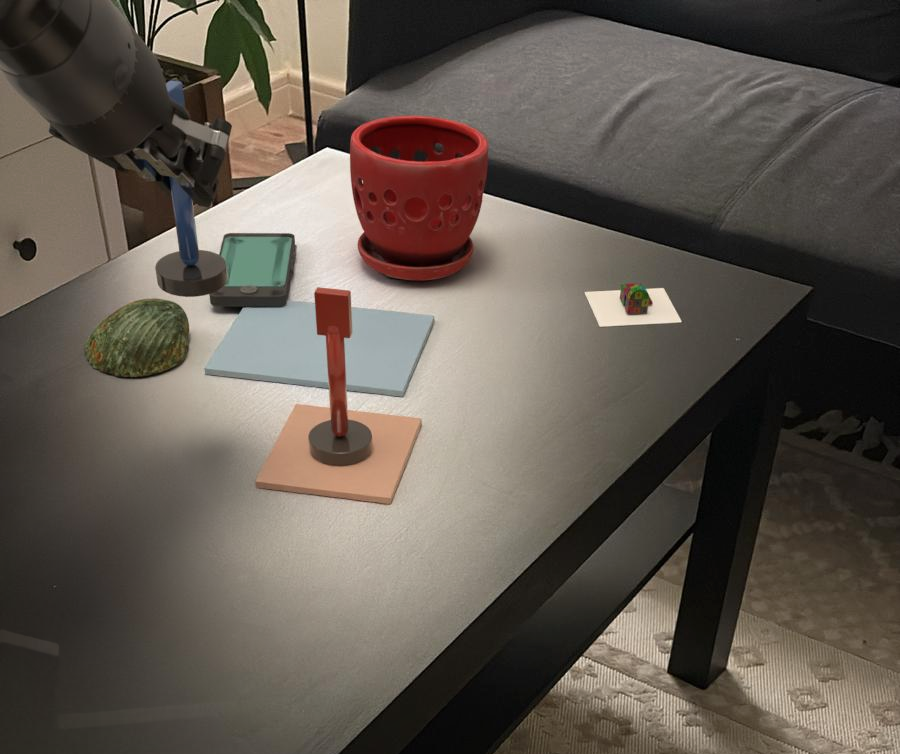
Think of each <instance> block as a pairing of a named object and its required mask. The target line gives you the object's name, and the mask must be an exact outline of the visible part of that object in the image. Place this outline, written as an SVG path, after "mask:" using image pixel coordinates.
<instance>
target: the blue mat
mask: <svg viewBox="0 0 900 754" xmlns="http://www.w3.org/2000/svg"><path fill="white" fill-rule="evenodd" d="M351 311H352V335H351V337H350V338H344V344H345V365H346V385H347V391H348V392H349V391H350V392H357V393H358V392H359V393H366V394H367V393H368V394H376V395H385V396H393V397H400V398H401V397H404V395H405V392H406V390H407V388H408V386H409V383H410V381H411V378H412V376H413V373H414V371H415V368H416V366H417V364H418V361H419V359H420V356H421V354H422V352H423V349H424V347H425V345H426V343H427V340H428V337H429V335H430V333H431V331H432V328H433V326H434V323H435V315H432V314H422V313H412V312H404V311H394V310H393V311H392V310H385V309H375V308H368V307H367V308H365V307H358V306H357V307H356V306H351ZM203 370H204V374H205V375H209V376H218V377H226V378H235V379H244V380H245V379H246V380H252V381H263V382H271V383H279V384H287V385H298V386H305V387H316V388H323V389H324V388H325V389H329V383H328V367H327V350H326V336H323V335H317V326H316V311H315V302H310V301H300V300H290V299H287V303H286V305H284V306H242V309H241V310H240V312H239V314H238V315H237V316H236V318H235V320H234V321H233V323H232V325H230V327H229V329H228V330H227V332H226V334H225V335H224V337H223V338H222V340H221V341H220V343H219V344H218V346H217V348H216V349H215V351H214V352H213V354H212V356H211V357H210V359H209V361H207V363H206V365H205V366H204V369H203Z"/></svg>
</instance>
